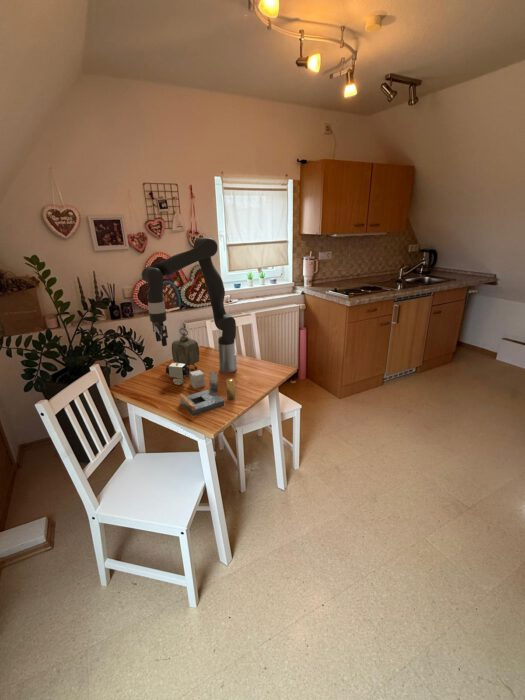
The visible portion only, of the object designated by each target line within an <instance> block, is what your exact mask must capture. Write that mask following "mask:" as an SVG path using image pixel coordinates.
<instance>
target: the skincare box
mask: <svg viewBox="0 0 525 700" xmlns="http://www.w3.org/2000/svg"><path fill="white" fill-rule="evenodd" d="M205 379H206V378H205V373H204V372H203V371H202V370H200V369H198V370H197V369H196V370H194V371H190V372H189V383H190V386H192V388H193V389H199V388H202V387H205V386H206V381H205Z"/></svg>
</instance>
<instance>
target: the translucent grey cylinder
mask: <svg viewBox="0 0 525 700" xmlns="http://www.w3.org/2000/svg"><path fill="white" fill-rule="evenodd" d="M208 374H209V375H208V377H209V389H211V390H212V391H214V392H215V393H216V394H217V393H218V392H219V385H218V384H219V382H218V372H217V371H210V372H209V373H208Z"/></svg>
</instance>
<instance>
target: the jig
mask: <svg viewBox="0 0 525 700" xmlns="http://www.w3.org/2000/svg"><path fill="white" fill-rule="evenodd" d="M179 401H180V404H181V405H182V407H184V409H185V410H186V411H187V412H188V414H189V413H190V415H191V416H192V417H196V416H198V415H202V414H204V413H207V412H210V411H213V410H216V409H218V408H222V407H225V399H224V398H222V397H221V396H220V395H219V394H217V392H216V393H215V392H214V391H212V390H211V389H210V388H209V389H206V390H201V391H198V392H196V393H192V394H189V395H184V393H180V394H179Z"/></svg>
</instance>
